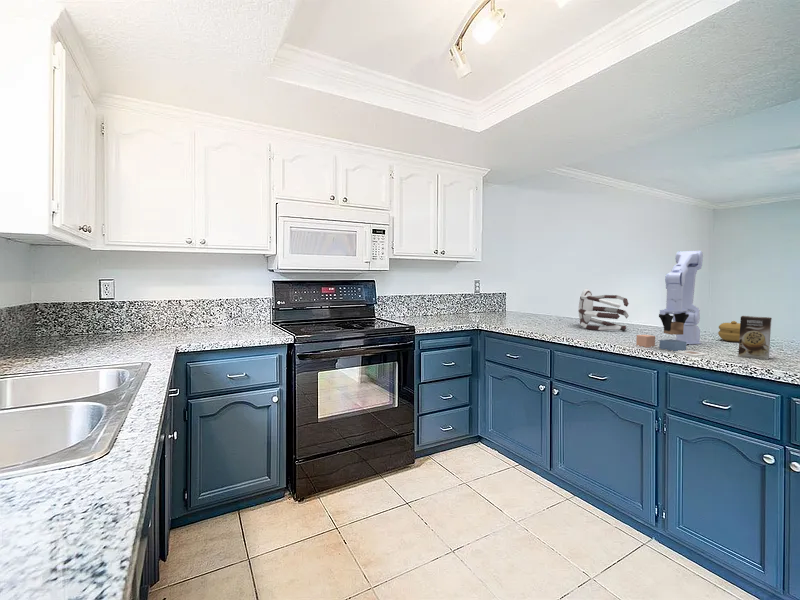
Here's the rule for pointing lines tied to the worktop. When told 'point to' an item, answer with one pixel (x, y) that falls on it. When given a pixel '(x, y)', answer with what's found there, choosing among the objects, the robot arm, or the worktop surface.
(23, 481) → the worktop surface
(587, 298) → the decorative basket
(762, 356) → the coffee box
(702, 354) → the card
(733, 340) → the pot
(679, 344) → the blue block
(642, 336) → the peach block
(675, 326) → the walnut block
